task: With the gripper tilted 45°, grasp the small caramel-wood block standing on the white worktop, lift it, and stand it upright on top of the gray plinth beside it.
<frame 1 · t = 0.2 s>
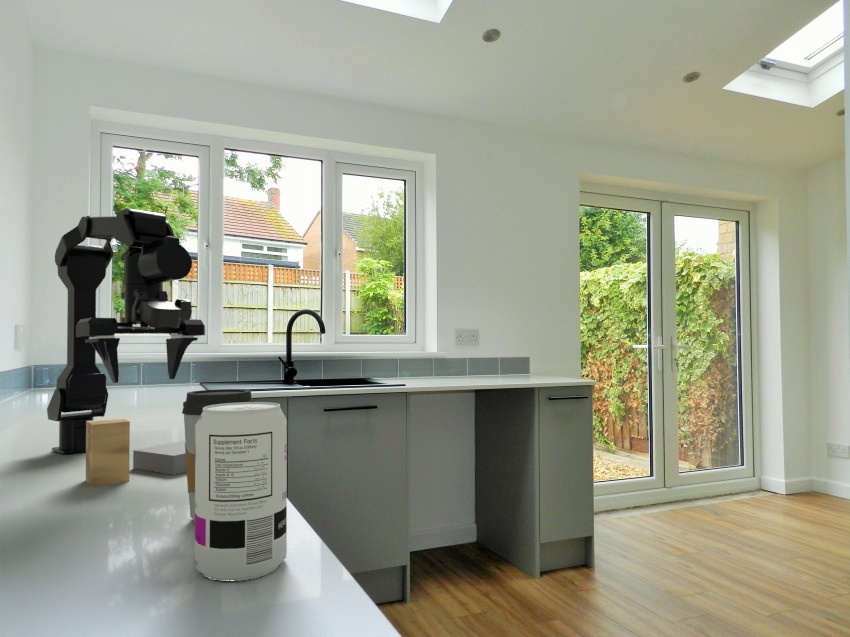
hand: (144, 380, 95), 15 cm above the table, tool pointing down, fingers open, 9 cm apart
coffee cup: (218, 519, 69), on the table
supplement can: (241, 568, 54), on the table
caramel block: (107, 480, 88), on the table
gray plinth: (179, 465, 98), on the table
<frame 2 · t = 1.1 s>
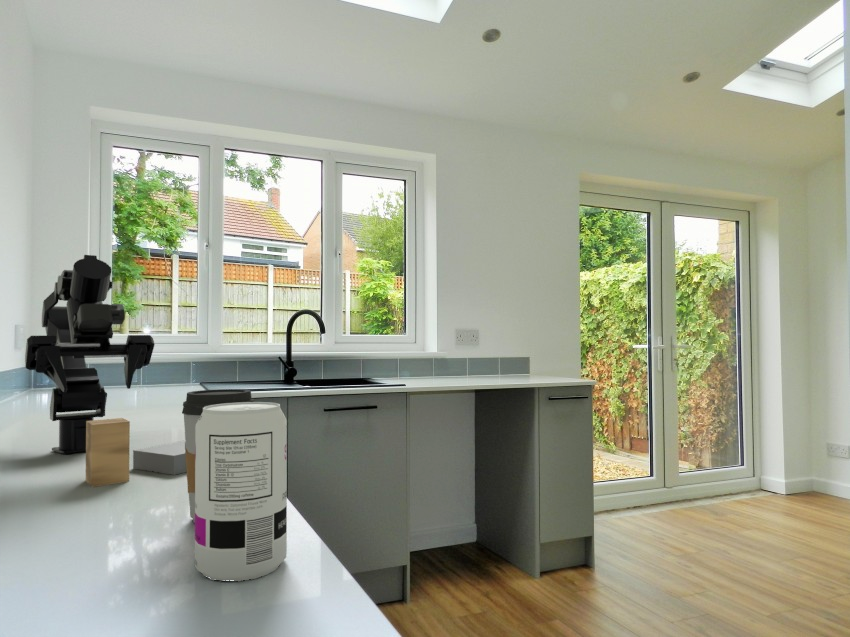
hand: (98, 388, 95), 13 cm above the table, tool tilted 45°, fingers open, 9 cm apart
nothing on the table moved.
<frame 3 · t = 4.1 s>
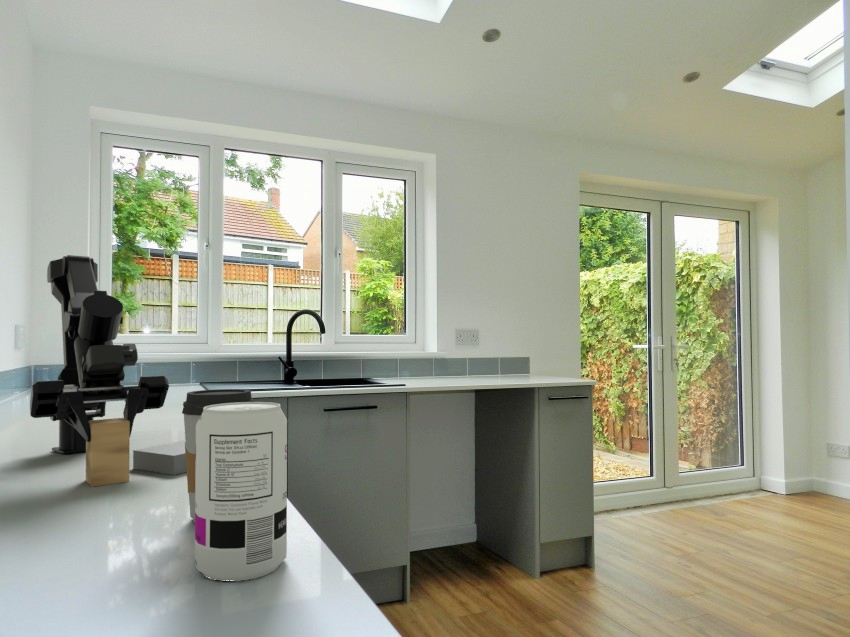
hand: (109, 437, 87), 7 cm above the table, tool tilted 45°, fingers closed on caramel block, 5 cm apart
caramel block: (107, 480, 88), on the table, touching gripper
everything else where it was.
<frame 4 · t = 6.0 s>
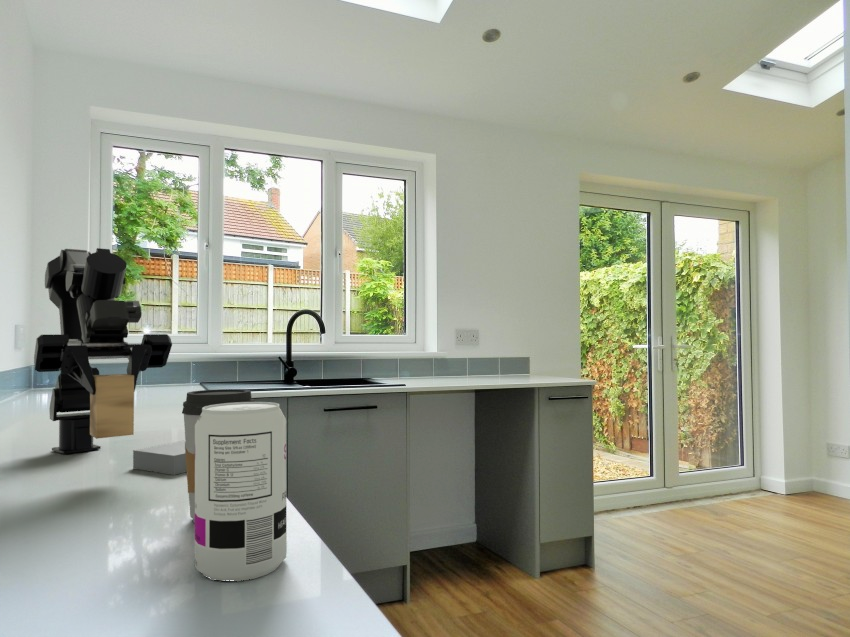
hand: (114, 391, 88), 13 cm above the table, tool tilted 45°, fingers closed on caramel block, 5 cm apart
caramel block: (111, 434, 88), point 7 cm above the table, touching gripper
everything else where it was.
when the fingers open (11 cm above the table, at t = 8.0 s): caramel block drops 1 cm, resting on gray plinth.
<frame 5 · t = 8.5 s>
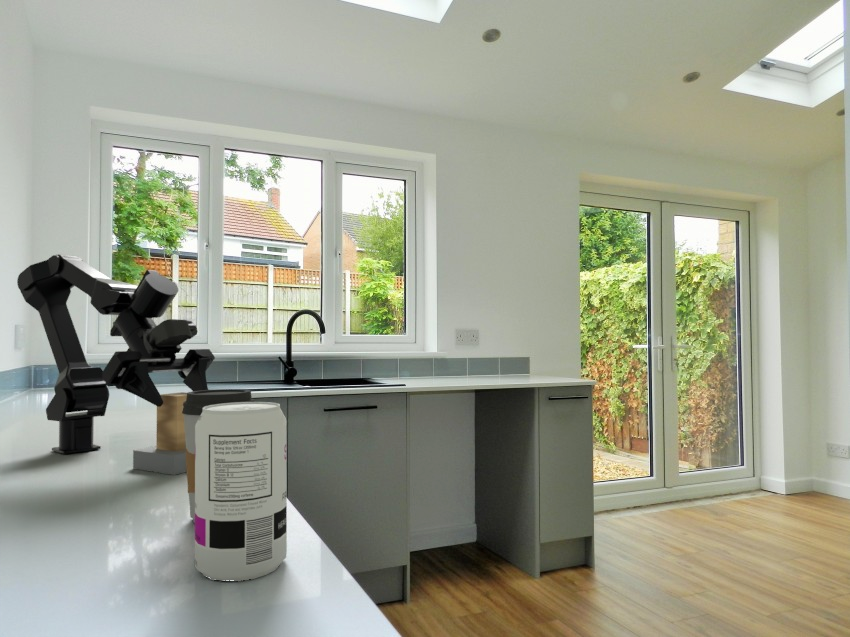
hand: (185, 401, 98), 11 cm above the table, tool tilted 45°, fingers open, 9 cm apart
caramel block: (179, 447, 98), point 3 cm above the table, touching gray plinth
everything else where it was.
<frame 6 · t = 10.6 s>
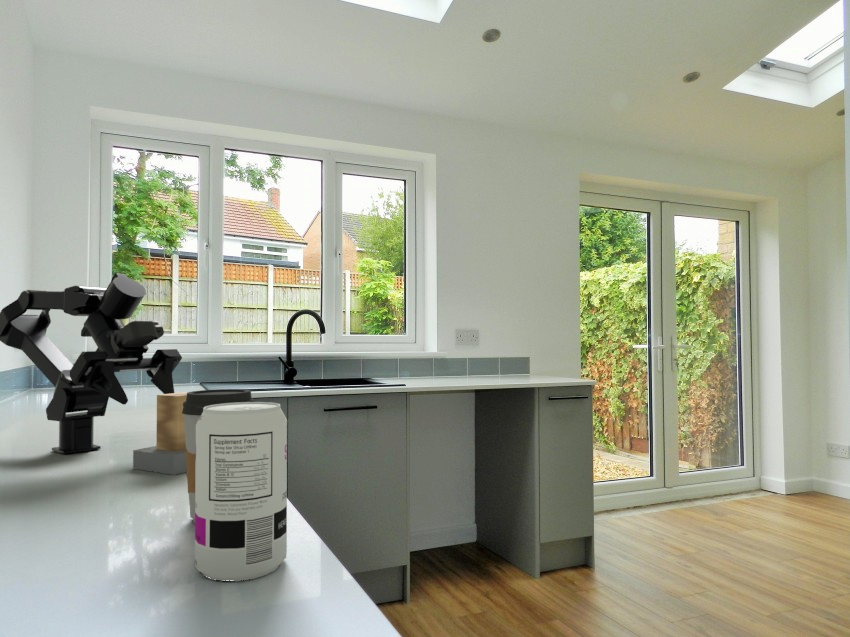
hand: (150, 400, 102), 11 cm above the table, tool tilted 45°, fingers open, 9 cm apart
nothing on the table moved.
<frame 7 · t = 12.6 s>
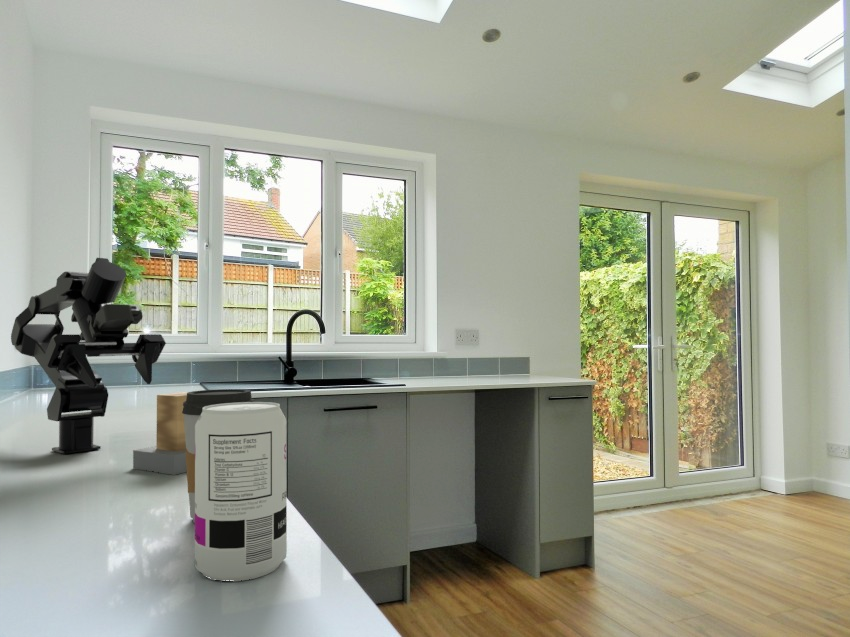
hand: (123, 384, 100), 14 cm above the table, tool tilted 45°, fingers open, 9 cm apart
nothing on the table moved.
at the end: caramel block 0.0 cm off-centre on the gray plinth, point 3.0 cm above the gray plinth's base; caramel block tilted 0°; the gripper is holding nothing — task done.
